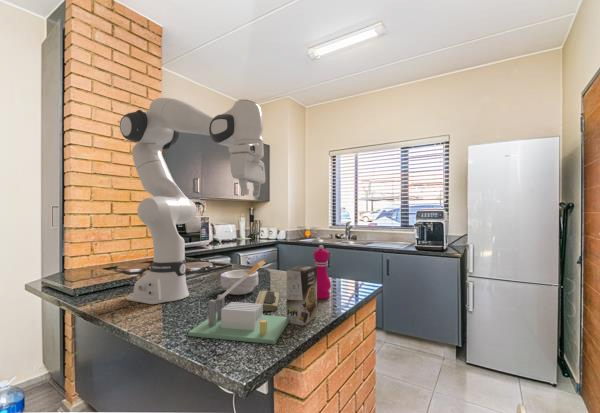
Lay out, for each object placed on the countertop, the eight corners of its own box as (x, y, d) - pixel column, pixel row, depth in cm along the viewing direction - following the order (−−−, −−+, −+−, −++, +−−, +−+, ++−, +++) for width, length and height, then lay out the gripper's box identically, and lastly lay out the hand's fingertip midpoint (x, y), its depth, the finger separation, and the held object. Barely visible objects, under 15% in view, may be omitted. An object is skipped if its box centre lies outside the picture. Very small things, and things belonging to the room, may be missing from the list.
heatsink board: (188, 335, 77) (188, 305, 77) (217, 314, 93) (217, 289, 93) (274, 344, 72) (274, 311, 72) (290, 320, 88) (290, 293, 88)
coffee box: (304, 327, 83) (304, 271, 84) (285, 323, 86) (285, 269, 87) (318, 317, 91) (317, 266, 92) (300, 313, 94) (299, 264, 95)
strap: (212, 306, 82) (209, 303, 82) (220, 301, 87) (218, 298, 87) (259, 266, 79) (257, 262, 79) (265, 263, 84) (263, 259, 84)
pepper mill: (309, 298, 110) (309, 245, 110) (315, 293, 116) (315, 243, 117) (327, 300, 107) (327, 246, 107) (333, 295, 114) (332, 244, 114)
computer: (277, 312, 96) (277, 302, 96) (253, 312, 96) (253, 302, 96) (279, 298, 112) (279, 289, 112) (258, 298, 112) (258, 289, 112)
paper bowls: (213, 292, 118) (213, 273, 118) (242, 285, 130) (242, 267, 130) (236, 300, 108) (236, 278, 108) (266, 291, 120) (265, 272, 120)
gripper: (252, 158, 102) (253, 197, 101) (225, 145, 82) (227, 194, 81) (269, 157, 100) (270, 197, 100) (246, 143, 80) (248, 193, 80)
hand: (250, 195), depth 90 cm, fingers open, 8 cm apart
